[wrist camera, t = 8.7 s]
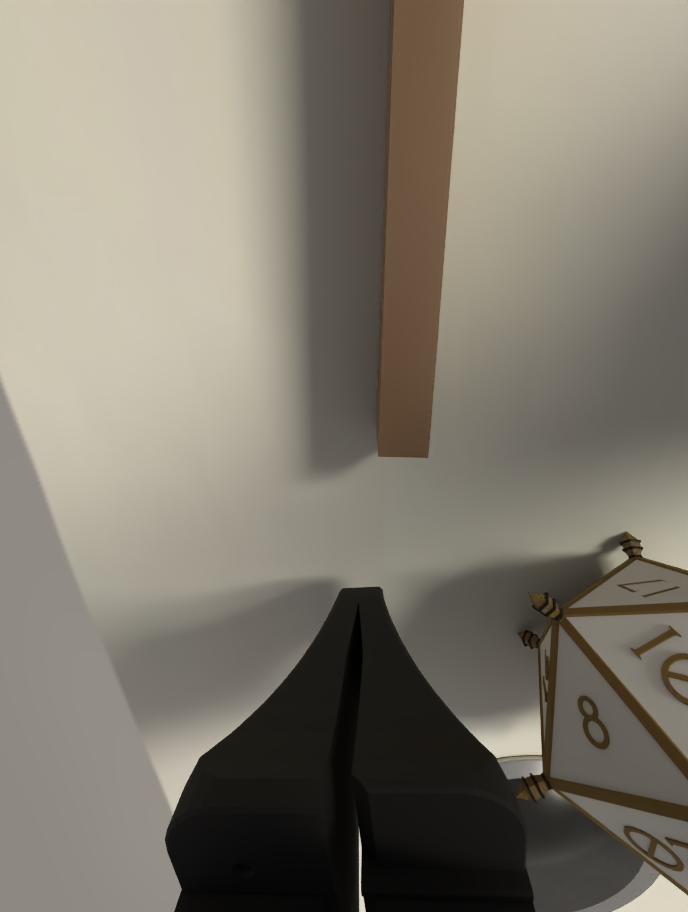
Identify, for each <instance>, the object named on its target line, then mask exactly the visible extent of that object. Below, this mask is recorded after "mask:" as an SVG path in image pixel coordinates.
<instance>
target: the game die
mask: <svg viewBox="0 0 688 912" xmlns="http://www.w3.org/2000/svg"><path fill="white" fill-rule="evenodd" d="M640 542H641V540H637V539H636V538H635V537H633V536H632V535H630V534H629V533H628V532H626V533H625V536H624V538H623V540H622V542H620V544H621V545H622V546H623V548H624V549H622V550H623V551H624V552H625V553H626V554H627V555H628V556H629V559H628V560H627V561H625V562H624V563H622V564H621V565H619V566H618V567H617V568H615V569H614V570H612V571H611V572H609V573H608V574H607V575H605V576H604V577H602V578H601V579H599V580H598V581H597V582H595V583H594V584H592V585H591V586H589V587H588V588H587V589H585V590H584V591H582V592H581V593H579V594H578V595H577V596H575V597H574V598H572V599H571V600H569V601H568V602H567V603H565V604H564V605H562V606H561V607H558V605H557V604H556V600H555V599H554V598H553V599H551V598H550V597H549V595H548V593H547V592H546V593H543V594H539V593H529V596H530V599H531V601H532V604H533V605H532V607H533V608H534V609H535V610H537V611H538V612H540V613H542V614H543V615H544V616H546V617H548V616H549V617H551V620H550V622H549V623H548V625H547V627H546V629H545V631H544V633H543V635H542V637H541V639H540V638H539V637H538V635H536V634H533V632H530V631H527V630H525V632H521V633H517V634H518V635H519V636H520V638H521V639H522V641H523V644H524V646H530V648H531V649H533V648H538V664H539V690H540V716H541V741H542V767H543V772H542V773H541V774H540V775H532V773H529V774H530V776H529V777H526V778H524V777H523V776H522V782H521V784H520V787H519V789H518V792H517V794H516V798H521V799H526V800H530V801H534V802H535V804H536V803H537V801H536V800H537V799H539V798H541V797H542V798H543V799H544V798H545V797H544V795H545V794H546V793H547V792H548V790H551V789H553V790H554V791H555V792H556V793H558V794H559V795H560V796H561V797H563V798H564V799H565V800H567V801H568V802H569V803H570V804H572V805H573V806H574V807H576V808H577V809H578V810H579V811H581V812H582V813H583V814H585V815H586V816H587V817H588V818H590V819H591V820H592V821H593V822H595V823H596V824H597V825H599V826H600V827H601V828H602V829H604V830H605V831H606V832H608V833H609V834H610V835H611V836H613V837H614V838H615V839H617V840H618V841H619V842H620V843H622V844H623V845H624V846H625V847H627V848H628V849H629V850H631V851H632V852H633V853H634V854H636V855H637V856H638V857H640V858H641V859H642V860H643V861H645V862H646V863H647V864H649V865H650V866H651V867H652V868H654V869H655V870H656V871H657V872H659V873H660V874H661V875H663V876H664V877H665V878H666V879H668V880H669V881H670V882H672V883H673V884H674V885H675V886H677V887H678V888H679V889H681V890H682V891H683V892H684V893H686V894H687V895H688V571H687V570H684V569H680V568H677V567H673V566H670V565H666V564H663V563H659V562H656V561H653V560H649V559H646V558H643V557H642V556H641V551H642V549H643V547H641V546H640Z"/></svg>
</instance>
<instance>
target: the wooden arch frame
mask: <svg viewBox="0 0 688 912" xmlns="http://www.w3.org/2000/svg"><path fill="white" fill-rule="evenodd" d="M463 7H464V0H391V9H390V39H389V69H388V99H387V129H386V159H385V189H384V219H383V249H382V280H381V310H380V340H379V370H378V400H377V443H378V456H381V457H419V458H428V453H429V440H430V428H431V415H432V402H433V389H434V377H435V364H436V351H437V338H438V326H439V313H440V300H441V287H442V274H443V262H444V249H445V236H446V223H447V211H448V198H449V185H450V172H451V160H452V147H453V134H454V121H455V109H456V96H457V83H458V70H459V58H460V45H461V32H462V19H463Z"/></svg>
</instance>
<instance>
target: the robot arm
mask: <svg viewBox="0 0 688 912" xmlns="http://www.w3.org/2000/svg"><path fill="white" fill-rule="evenodd" d="M359 831H360V838H361V844H362V867H361V893H362V896H364V902H365V909H366V912H536V911H535V908H534V904H533V902H534V895H533V890H532V886H531V883H530V879H529V876H528V872H527V869H526V859H527V842H528V832H527V826H526V821H525V818H524V815H523V812H522V810H521V807H520V805H519V803H518V800H517V798H516V796H515V794H514V791H513V789H512V787H511V785H510V783H509V781H508V779H507V777H506V775H505V774H504V772H503V770H502V768H501V766H500V765H499V763H498V761H497V759H496V757H495V756H494V755H493V754H492V753H491V752H490V751H489V750H488V749H487V748H486V747H485V746H484V745H483V744H481V743H480V742H479V741H478V740H477V739H476V738H475V737H474V736H473V735H472V734H471V733H470V732H469V731H468V729H467V728H466V727H465V726H464V725H463V724H462V723H461V722H460V721H459V720H458V719H457V718H456V716H455V715H454V714H453V713H452V712H451V711H450V709H449V708H448V707H447V706H446V705H445V703H444V702H443V701H442V700H441V698H440V697H439V696H438V695H437V694H436V692H435V691H434V690H433V689H432V687H431V686H430V684H429V683H428V682H427V680H426V679H425V678H424V676H423V675H422V673H421V672H420V670H419V669H418V667H417V666H416V664H415V663H414V661H413V659H412V658H411V656H410V655H409V653H408V651H407V649H406V648H405V646H404V644H403V642H402V640H401V638H400V637H399V635H398V633H397V630H396V628H395V626H394V624H393V622H392V620H391V617H390V615H389V612H388V610H387V607H386V604H385V601H384V596H383V590H382V589H381V588H380V587H363V588H343V589H342V590H341V591H340V592H339V594H338V597H337V599H336V601H335V603H334V605H333V608H332V609H331V611H330V613H329V615H328V617H327V619H326V621H325V622H324V624H323V626H322V628H321V629H320V631H319V633H318V634H317V636H316V638H315V639H314V641H313V642H312V644H311V645H310V647H309V648H308V650H307V651H306V653H305V654H304V656H303V657H302V658H301V660H300V661H299V663H298V664H297V665H296V666H295V668H294V669H293V670H292V672H291V673H290V674H289V675H288V677H287V678H286V679H285V680H284V681H283V682H282V684H281V685H280V686H279V687H278V688H277V689H276V690H275V691H274V693H273V694H272V695H271V696H270V697H269V698H268V699H267V700H266V701H265V702H264V703H263V704H262V705H261V706H260V707H259V708H258V709H257V710H256V711H255V712H254V713H253V714H252V715H251V716H250V717H249V718H247V719H246V720H245V721H244V722H243V723H242V724H241V725H240V726H239V727H238V728H237V729H235V730H234V731H233V732H232V733H231V734H229V735H228V736H227V737H226V738H224V739H223V740H222V741H221V742H219V743H218V744H217V745H215V746H214V747H213V748H212V749H210V750H209V751H208V752H206V753H205V754H204V755H202V756H201V757H200V758H199V760H198V762H197V764H196V766H195V768H194V770H193V772H192V774H191V775H190V777H189V779H188V781H187V783H186V785H185V787H184V790H183V792H182V794H181V797H180V799H179V802H178V804H177V807H176V809H175V811H174V814H173V816H172V819H171V821H170V824H169V826H168V829H167V833H166V837H165V842H166V847H167V852H168V854H169V857H170V859H171V862H172V865H173V867H174V870H175V873H176V875H177V878H178V880H179V883H180V885H181V888H182V891H181V893H180V896H179V899H178V902H177V905H176V908H175V911H174V912H359Z"/></svg>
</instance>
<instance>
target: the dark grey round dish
mask: <svg viewBox="0 0 688 912" xmlns="http://www.w3.org/2000/svg"><path fill="white" fill-rule="evenodd" d="M497 761H498V763H499V765H500V766H501V768H502V770H503V772H504V774H505V775H506V777H507V779H508V781H509V783H510V785H511V787H512V789H513V791H514V794H515V796H516V794H517V792H518V789H519V787H520V784H521V782H522V776H523V777H524V778H526V777H529V776H530V774H529V773H532V775H540V774H541V773H542V772H543V767H542V756H519V757H508V758H501V759H497ZM544 797H545V798H544V799H543V798H542V797H541V798H539V799H537V800H536V801H537V803H536V804H535V802H534V801H530V800H526V799H521V798H517V800H518V803H519V805H520V807H521V810H522V812H523V815H524V818H525V821H526V826H527V832H528V842H527V859H526V869H527V872H528V876H529V879H530V883H531V886H532V890H533V895H534V902H533V904H534V908H535V911H536V912H612V911H614V910H616V909H618V908H620V907H622V906H624V905H626V904H627V903H629V902H631V901H633V900H634V899H635V898H637V897H638V896H640V895H641V894H642V893H643V892H645V891H646V890H647V889H648V888H649V887H650V886H651V885H652V884H653V883H654V881H655V880H656V879H657V878H658V876H659V875H660V873H659V872H657V871H656V870H655V869H654V868H652V867H651V866H650V865H649V864H647V863H646V862H645V861H643V860H642V859H641V858H640V857H638V856H637V855H636V854H634V853H633V852H632V851H631V850H629V849H628V848H627V847H625V846H624V845H623V844H622V843H620V842H619V841H618V840H617V839H615V838H614V837H613V836H611V835H610V834H609V833H608V832H606V831H605V830H604V829H602V828H601V827H600V826H599V825H597V824H596V823H595V822H593V821H592V820H591V819H590V818H588V817H587V816H586V815H585V814H583V813H582V812H581V811H579V810H578V809H577V808H576V807H574V806H573V805H572V804H570V803H569V802H568V801H567V800H565V799H564V798H563V797H561V796H560V795H559V794H558V793H556V792H555V791H554V790H553V789H551V790H548V792H547V793H546V794H545V795H544Z"/></svg>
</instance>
